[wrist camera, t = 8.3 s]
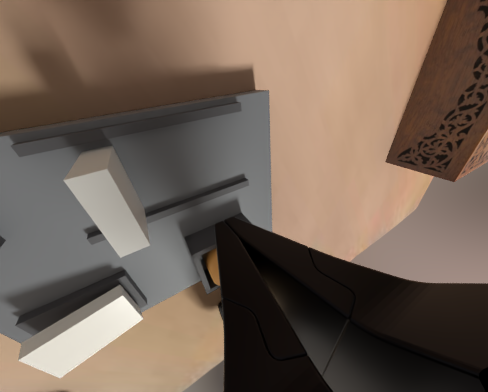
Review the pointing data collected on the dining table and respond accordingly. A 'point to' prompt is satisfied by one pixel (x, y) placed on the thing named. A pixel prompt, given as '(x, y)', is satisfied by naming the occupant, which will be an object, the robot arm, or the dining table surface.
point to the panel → (149, 192)
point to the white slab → (81, 333)
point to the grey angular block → (109, 199)
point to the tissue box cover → (449, 98)
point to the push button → (212, 265)
